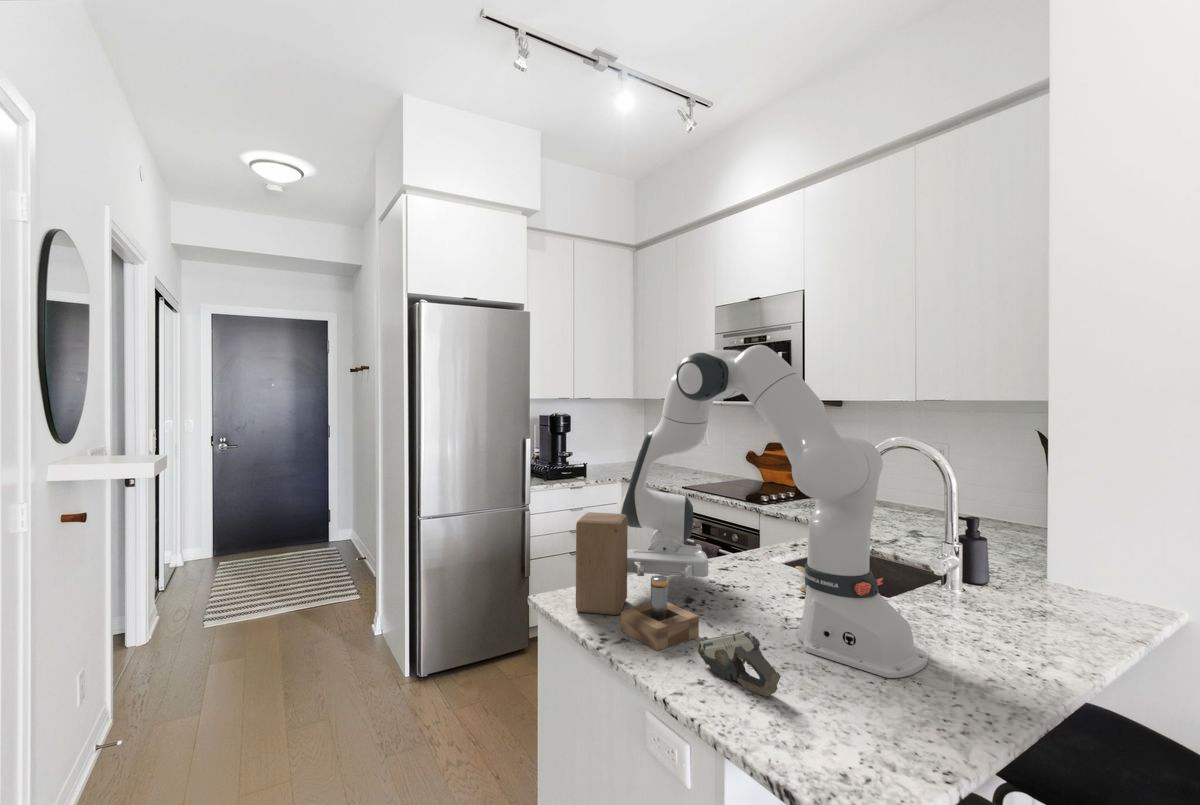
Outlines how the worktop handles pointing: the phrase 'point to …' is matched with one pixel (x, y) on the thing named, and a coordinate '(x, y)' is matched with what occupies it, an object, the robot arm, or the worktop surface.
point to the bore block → (660, 626)
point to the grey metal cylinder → (659, 597)
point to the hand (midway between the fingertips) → (662, 573)
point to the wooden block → (601, 563)
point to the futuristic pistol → (739, 661)
